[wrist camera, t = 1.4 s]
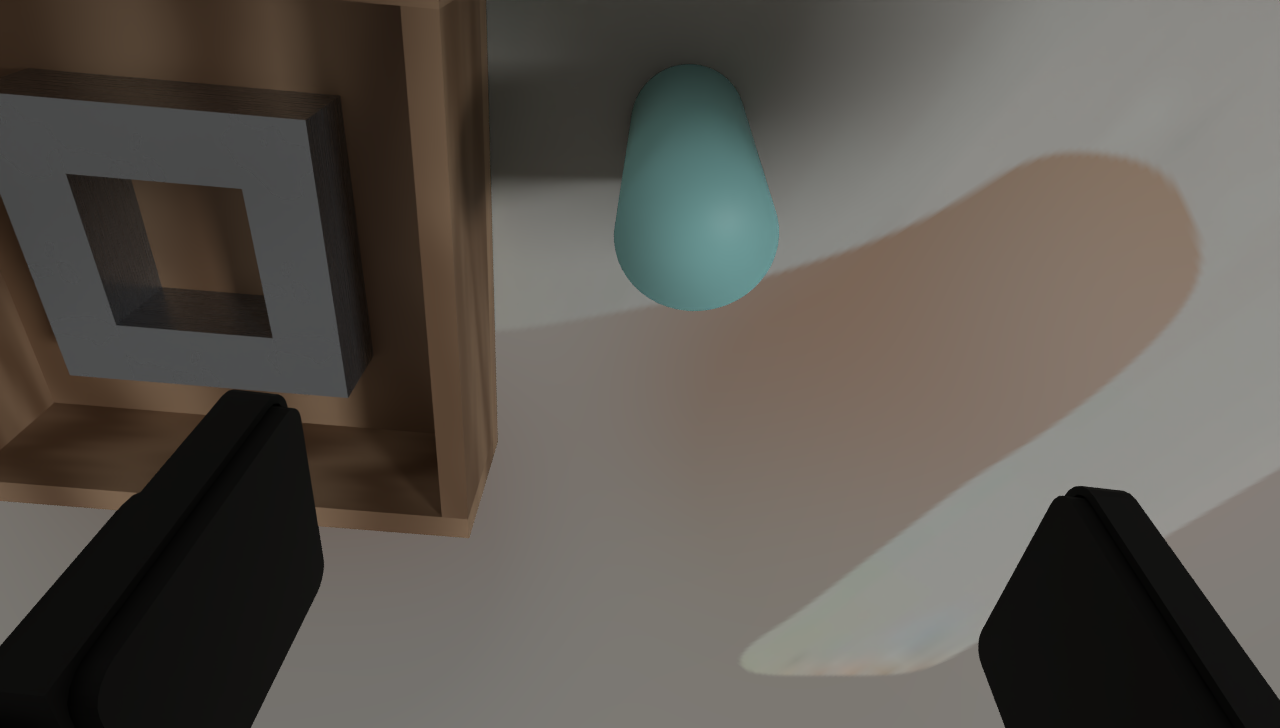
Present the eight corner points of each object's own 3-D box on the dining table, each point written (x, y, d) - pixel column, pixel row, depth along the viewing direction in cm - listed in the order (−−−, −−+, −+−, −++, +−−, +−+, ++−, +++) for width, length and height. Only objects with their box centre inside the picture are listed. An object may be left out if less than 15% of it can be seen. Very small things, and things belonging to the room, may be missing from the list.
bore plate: (340, 95, 26) (305, 119, 24) (373, 355, 32) (348, 398, 29) (28, 68, 26) (-40, 90, 23) (117, 334, 32) (69, 374, 29)
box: (484, -55, 24) (436, -34, 19) (497, 441, 35) (469, 537, 30) (-159, -114, 24) (-377, -108, 19) (54, 405, 35) (-50, 497, 30)
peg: (753, 69, 26) (793, 165, 18) (736, 183, 28) (764, 317, 20) (635, 59, 26) (619, 150, 18) (627, 174, 28) (609, 304, 20)
